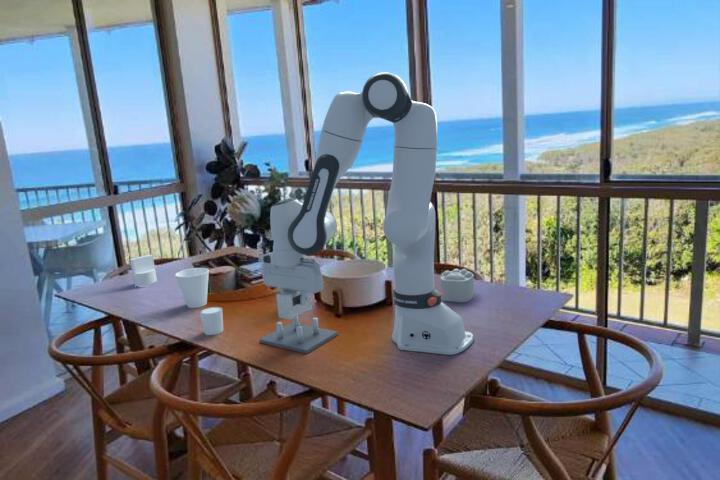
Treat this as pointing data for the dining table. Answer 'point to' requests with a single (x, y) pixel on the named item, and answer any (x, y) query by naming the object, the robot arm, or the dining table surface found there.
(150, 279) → the base with upright slab
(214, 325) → the white short cylinder
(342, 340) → the dining table surface
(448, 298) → the bowl of white balls
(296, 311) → the drive
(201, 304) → the cup
